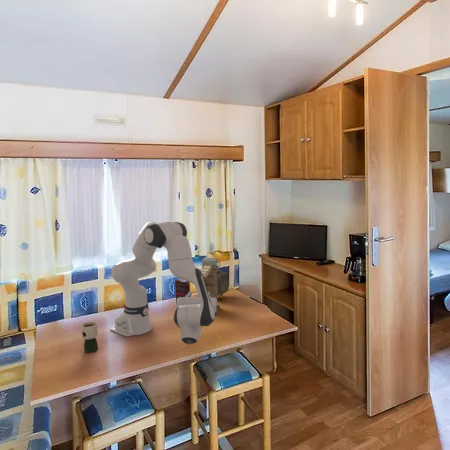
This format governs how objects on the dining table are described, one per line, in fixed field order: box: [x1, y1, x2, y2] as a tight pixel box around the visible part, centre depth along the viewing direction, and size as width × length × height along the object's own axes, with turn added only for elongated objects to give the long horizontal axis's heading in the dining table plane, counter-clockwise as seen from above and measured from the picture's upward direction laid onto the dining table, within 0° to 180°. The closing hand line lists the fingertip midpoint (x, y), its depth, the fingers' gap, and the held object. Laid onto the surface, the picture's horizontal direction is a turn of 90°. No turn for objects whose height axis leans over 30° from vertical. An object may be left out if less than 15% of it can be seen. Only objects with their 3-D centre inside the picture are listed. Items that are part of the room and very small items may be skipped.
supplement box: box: [174, 278, 191, 306], centre depth 238 cm, size 9×5×16 cm, turn 58°
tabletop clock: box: [216, 261, 230, 300], centre depth 246 cm, size 14×9×25 cm, turn 128°
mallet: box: [200, 257, 218, 278], centre depth 216 cm, size 27×8×5 cm, turn 172°
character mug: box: [80, 321, 99, 353], centre depth 178 cm, size 11×7×13 cm, turn 32°
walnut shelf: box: [200, 265, 220, 317], centre depth 222 cm, size 18×9×26 cm, turn 172°
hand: (199, 292), depth 194 cm, fingers open, 8 cm apart
